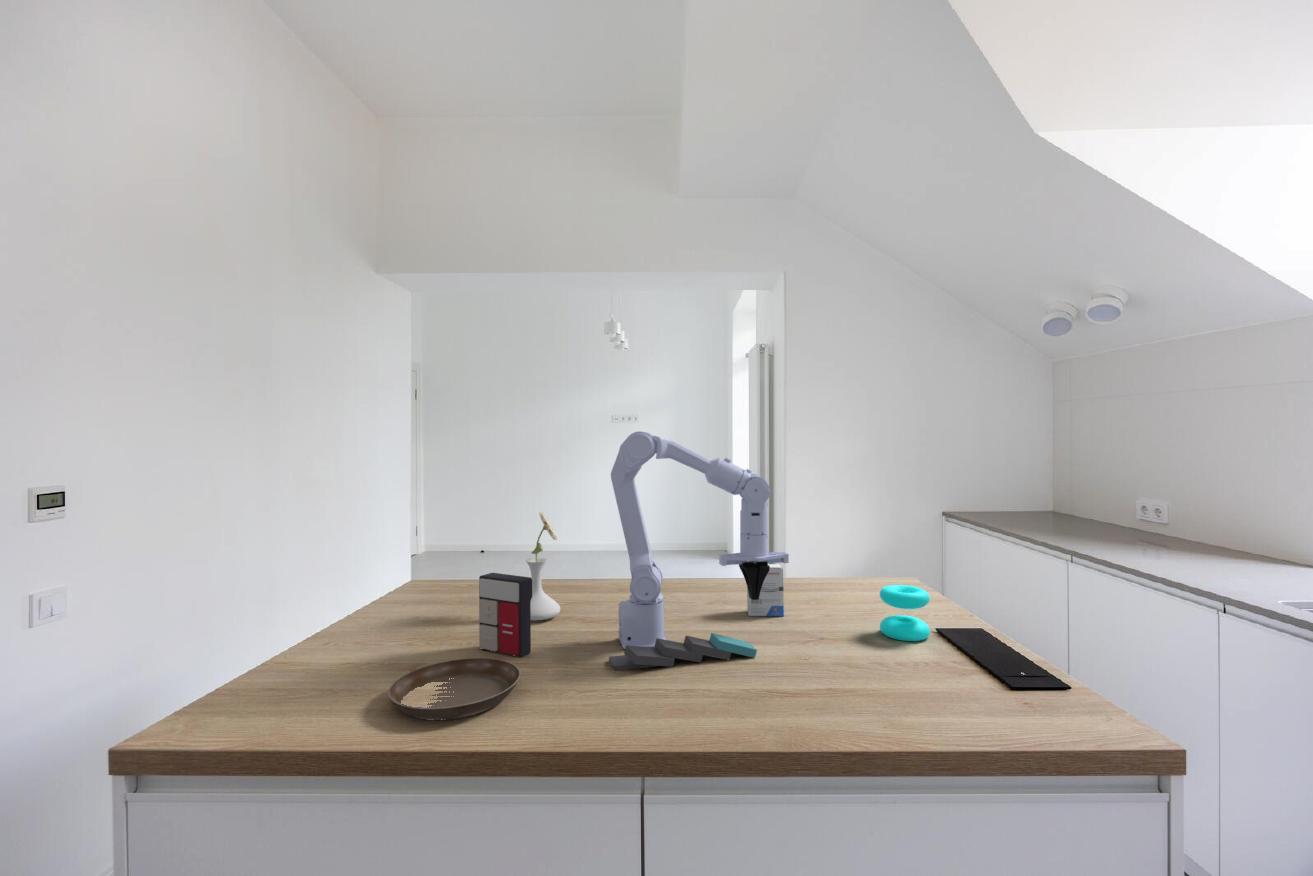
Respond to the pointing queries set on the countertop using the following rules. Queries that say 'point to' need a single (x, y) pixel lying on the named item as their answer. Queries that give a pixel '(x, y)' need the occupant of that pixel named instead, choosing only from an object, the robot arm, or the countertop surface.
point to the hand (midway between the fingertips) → (754, 598)
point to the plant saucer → (458, 687)
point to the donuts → (902, 624)
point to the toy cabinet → (505, 613)
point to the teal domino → (732, 645)
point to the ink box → (769, 595)
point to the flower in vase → (540, 601)
